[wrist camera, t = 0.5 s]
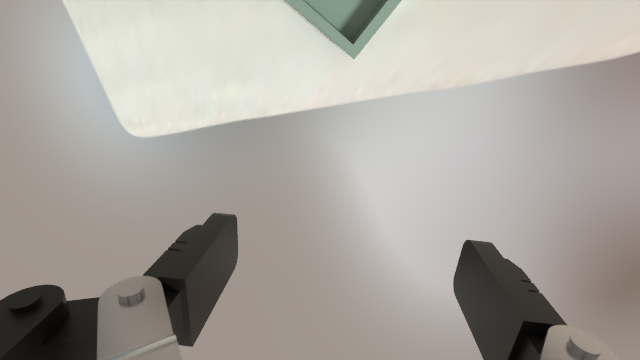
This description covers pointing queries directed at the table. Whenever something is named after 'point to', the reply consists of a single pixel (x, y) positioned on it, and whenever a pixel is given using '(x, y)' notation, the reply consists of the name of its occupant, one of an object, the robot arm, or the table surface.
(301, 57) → the table surface
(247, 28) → the table surface
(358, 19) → the tray
